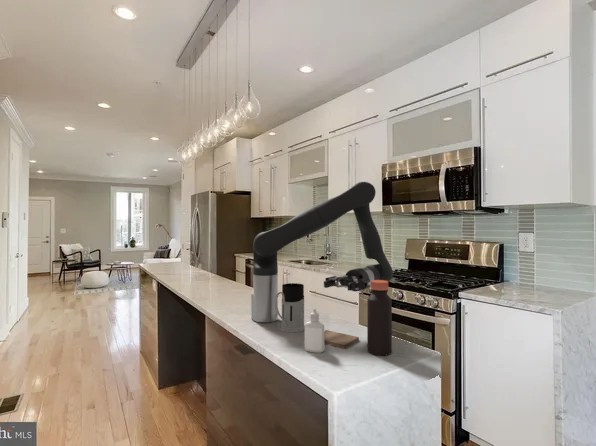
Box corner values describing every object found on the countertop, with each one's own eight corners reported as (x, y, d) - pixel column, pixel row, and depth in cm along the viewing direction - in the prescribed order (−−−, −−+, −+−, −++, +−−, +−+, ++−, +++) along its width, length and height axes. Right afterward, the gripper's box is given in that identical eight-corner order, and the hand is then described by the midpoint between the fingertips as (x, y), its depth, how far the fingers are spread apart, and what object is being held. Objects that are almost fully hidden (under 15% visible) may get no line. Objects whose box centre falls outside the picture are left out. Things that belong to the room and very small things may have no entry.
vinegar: (362, 352, 97) (362, 281, 97) (375, 345, 102) (375, 278, 102) (384, 358, 93) (384, 284, 93) (396, 351, 98) (396, 281, 98)
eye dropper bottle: (316, 355, 95) (316, 311, 95) (302, 349, 99) (302, 308, 99) (326, 351, 98) (326, 309, 98) (313, 346, 102) (313, 305, 102)
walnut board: (310, 340, 107) (310, 337, 107) (326, 333, 114) (326, 330, 114) (344, 348, 100) (344, 345, 100) (358, 340, 107) (358, 337, 107)
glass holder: (310, 327, 121) (310, 284, 121) (286, 338, 109) (286, 291, 109) (289, 323, 126) (289, 282, 126) (265, 333, 114) (265, 288, 114)
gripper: (341, 266, 125) (317, 272, 112) (378, 269, 116) (356, 275, 103) (342, 287, 125) (317, 295, 112) (379, 291, 116) (357, 300, 103)
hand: (336, 285), depth 108 cm, fingers open, 8 cm apart
